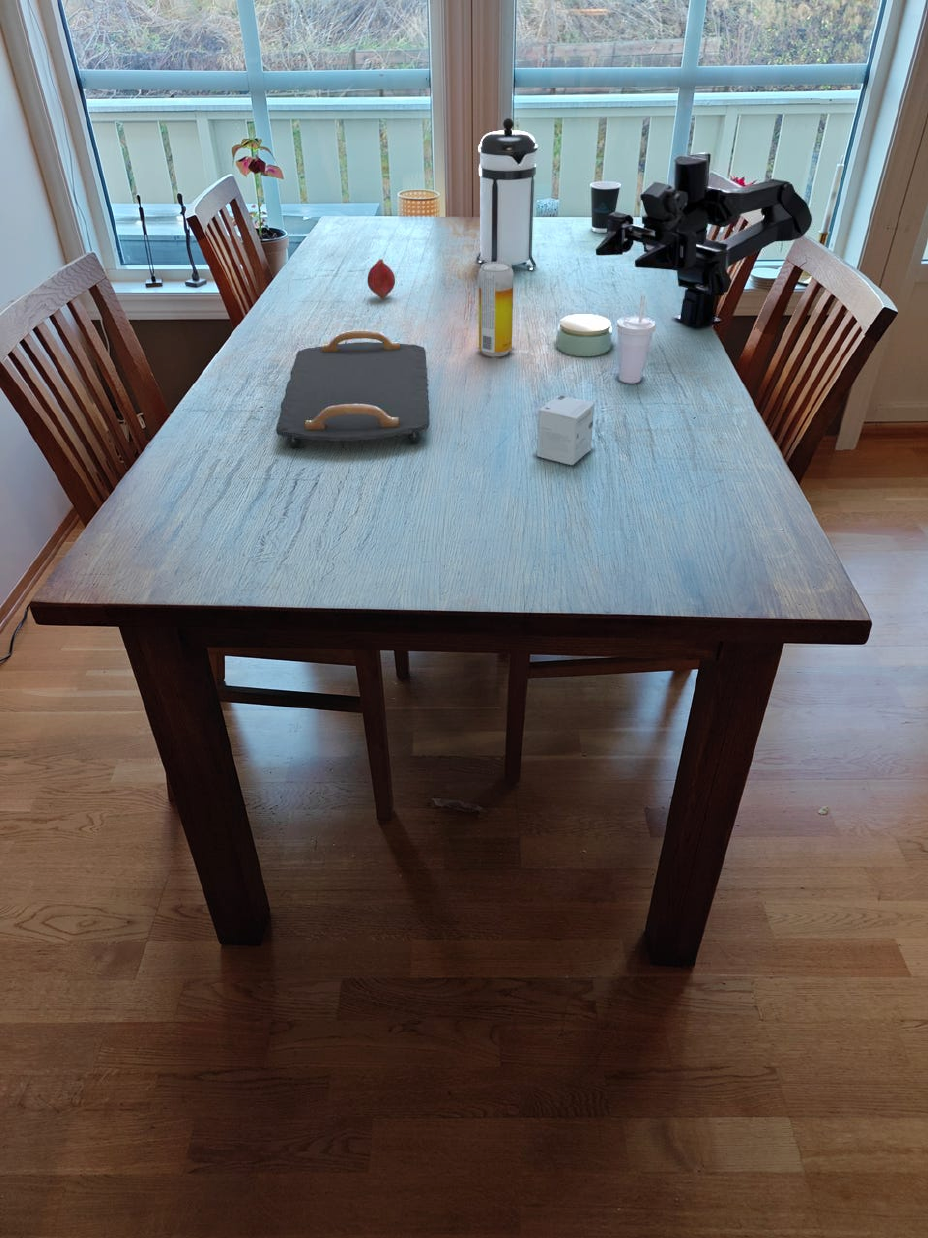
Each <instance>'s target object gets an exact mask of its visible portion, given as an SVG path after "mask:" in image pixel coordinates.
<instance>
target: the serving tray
mask: <svg viewBox="0 0 928 1238" xmlns="http://www.w3.org/2000/svg"><path fill="white" fill-rule="evenodd" d="M359 339H360V340H361V339H365V340H366V339H369V340H375V341H379V342H373V341H371V342H370V341H365V342H362V341H361V342H359V341H358V342H347V343H342V342H345V341H349V340H359ZM426 351H427V350H426V349H425V347H424V346H420V345H417V344H407V343H400V341H397V342H396V341H393V340H391V339H390V338H389V337H388V336H386V335H385V334H384V333H382V332H380V331H376V330H368V329H365V330H364V329H356V330H348V331H343V332H340V333H338V334H337V335H335V336H334V337H333V339H331V340H330V342H328V343H327V344H321V346H315V347H307V348H305V349H302V350H298V351H297V353H296V354H295V358H294V362H293V365H292V368H291V370H290V373H289V374H290V379H289V381H288V382H287V384H286V386H285V394H284V398H283V399H282V401H281V404H280V413H279V416H278V421H277V424H276V428H275V432H276V435H277V436H282V437H285V443H286V444H287V446H288V447H289V449H297V448H299V446H300V445H301V440H304V441H305V440H306V441H315V442H317V441H318V442H335V443H337V442H339V443H340V442H341V443H342V442H343V443H344V442H364V441H373V440H374V441H376V440H379V441H380V440H383V439H390V438H395V437H402V436H406V438H407V441H409V444H412V445H417V444H419V443H420V441H421V439H422V432H423V431H427V430H428V429H429V428H430V409H429V408H430V405H429V404H430V401H429V388H428V387H429V383H428V381H429V379H428V368H427V352H426Z"/></svg>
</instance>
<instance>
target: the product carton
mask: <svg viewBox="0 0 928 1238" xmlns="http://www.w3.org/2000/svg"><path fill="white" fill-rule="evenodd" d="M594 415H595V402H594V403H593V402H592V401H588V400H582V399H578V398H573V397H569V396H565V395H559V394H558V395H557V396H555V397H553V398H552V399H551V400H549V401H547V402H546V403H545V404H544V405H543V406H541V407H540V408H539V409H538V415H537V416H538V417H537V418H538V419H537V434H536V435H537V438H536V457H539V458H542V459H545V460H550V461H553V462H557V463H561V464H564V465H568V466H574V465H575V464H576V463H578V461H579V460H580V459H581V458H583V457H584V456H585V455H586V454H588V453H589V452H590V451H591V449H592V439H593V426H594Z"/></svg>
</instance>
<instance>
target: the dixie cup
mask: <svg viewBox="0 0 928 1238" xmlns="http://www.w3.org/2000/svg"><path fill="white" fill-rule="evenodd" d="M589 186H590V207H591V208H590V209H591V210H590V211H591V227H592V231H593V232H595V233H599V234H600V233H601V234H607V216H608V215H610V214H612V213H614V212H616V210H617V204H618V200H619V193H620V189H621V187H622V184H621V183H620V182H618V181H617V182H616V181H611V180H600V181H594V182H591V183H590V184H589Z"/></svg>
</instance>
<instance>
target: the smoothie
mask: <svg viewBox="0 0 928 1238" xmlns="http://www.w3.org/2000/svg"><path fill="white" fill-rule="evenodd" d="M645 295H646V294H645ZM645 295H644V294H642V295H641V297H640V303H639V304H640V305H639V311H638V312H639V313H638V315H630V316H624V317H621V318H619V319H618V320H617V321H616V326H615V328H616V330H617V343H618V344H617V345H618V347H617V348H618V350H617V351H618V380H619V381H620V382H622V383H624V384H637V383H639V382H641V381H642V380H641V379H642V377H643V372H644V369H645V365H646V360H647V357H648V353H649V349H650V345H651V343H652V337H653V333H654V332H655V331H656V326H657V322H656V321H655V320H654V319H651V318H649V317H645V316H643V315H644V314H643V313H644V305H645V299H646V296H645Z"/></svg>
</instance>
